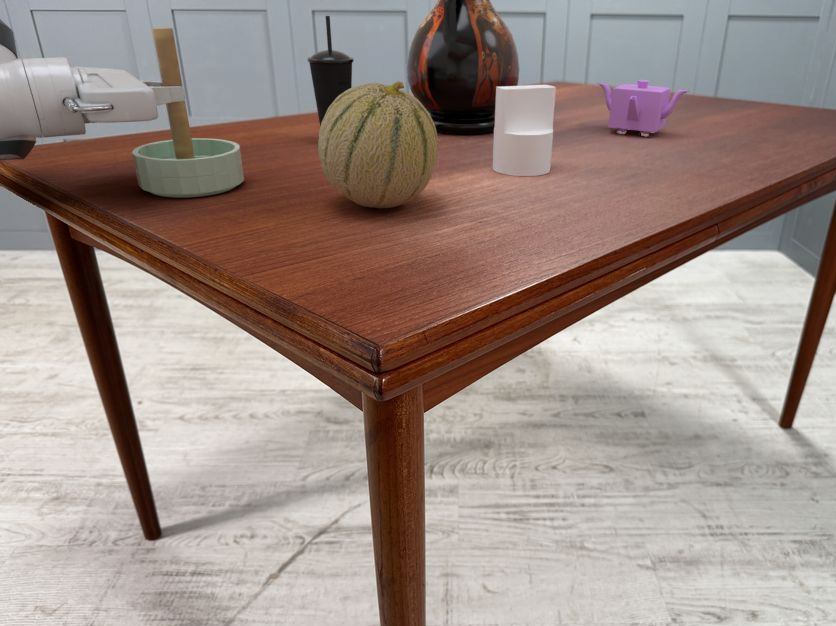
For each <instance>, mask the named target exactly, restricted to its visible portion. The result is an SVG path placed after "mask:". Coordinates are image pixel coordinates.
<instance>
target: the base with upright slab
mask: <svg viewBox="0 0 836 626" xmlns="http://www.w3.org/2000/svg"><path fill="white" fill-rule="evenodd" d="M556 92H557V87H556V86H554V85H549V84H531V85H529V84H528V85H517V86H502V87H496V105H495V128H494V131H493V144H492V145H493V147H492V170H493V171H494V172H496V173H497V174H501V175H506V176H513V177H539V176H543V175H546V174H549V173H551V172H550V171H551V165H552V153H553V141H554V117H555V106H556V105H555V104H556Z"/></svg>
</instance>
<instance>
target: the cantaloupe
mask: <svg viewBox="0 0 836 626" xmlns="http://www.w3.org/2000/svg"><path fill="white" fill-rule="evenodd" d="M403 89H405V85H404V83H403V81H399V80H398V81H396V82H394V83H393V84H391V85H388V84H384V83H380V82H372V83H366V84H360V85H355V86H352V88H350V89H348V90H346V91H345V92H343V93H342V94H340V95H339V96H338V97H337V98H336V99H335V100H334V101H333V103H332V104H331V105H330V106H329V108H328V110H327V112H326V114H325V116H324V118H323V121H322V122H321V127H320V126H319V127H320V128H319V132H318V148H317V151H318V158H319V163H320V166H321V169H322V173H323V174H324V176H325V178H326V179H327V181H328V183H329V184H330V185H331V186H332V187H333V188H335V189H336V190H337V192H339V194H340V195H341V196H343V197H345V198H346V199H347V200H349V201H352V202H353V203H355V204H357V205H359V206H361V207H366V208H370V209H371V208H374V209H375V208H376V209H391V208H396V207H399V206H401V205H405V204H407V203H408V202H411V201H412V200H413V199H416V198H417V197H418V196H419V195H420V194H421V193H422V192H423V191H424V190H425V188H427V186H428V184H429V182H430V181H431V179H432V177H433V174H434V171H435V167H436V164H437V161H438V156H439V155H438V151H439V137H438V132H436V128H435V124H434V122H433V120H432V118H431V116H430V114H429V113H428V111H427V110H426V109H425V108H424V106H423V105H422V104H421V103H420V101H419V100H418V99H417V98H415V97H414V95H413V94H412V93H410V92H407V91H405V90H403Z"/></svg>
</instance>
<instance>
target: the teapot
mask: <svg viewBox="0 0 836 626" xmlns="http://www.w3.org/2000/svg"><path fill="white" fill-rule="evenodd" d="M636 83H637V84H632V83H623V84H621V85H618V86H615V87H613V88H612V89H611V87H610V85H609V84H607V83H604V82H596V84H597V85H599V86H600V87H601V89H603V91H604V95H605V97H604V98H605V104H606V107H607V109H608V111H609V116H608V126H607V127H608V128H613V129H617V131H621V132H625V131H627V130H628V129H630V130H631V131H638V132H639V134H640V133H643V134H648V133H649V132H656V133H657V132H658V131H660V130H661V129H663V128H664V127H666V121H667V118H668V117H669V116H671V115H672V113H673V112H674V110H675V109H676V106H677V104H678V102H679V100H680V98H681V97H682V96H683V95H685V94H686V93H689V92H690V90H688V89H679V90H677V91H676V92H675V93H674V94H673V96H672V98H671V100H670V95H671V90H672V89H671V87H666V86H655V85H649V83H650V80H648V79H637V80H636ZM669 101H670V102H669ZM627 132H628V131H627ZM649 134H650V133H649Z"/></svg>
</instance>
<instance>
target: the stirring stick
mask: <svg viewBox="0 0 836 626" xmlns="http://www.w3.org/2000/svg"><path fill="white" fill-rule="evenodd" d="M151 30H152V36H153V41H154V47H155V53H156V57H157V58H156V59H157V62H158V69H159V73H160V80H161V82H162V85H163V87H166V86H175V85H179V86H181V87H182V88H183V89H184V86H183V81H182V75H181V67H180V62H179V56H178V52H177V51H178V50H177V45H176V39H175V32H174V28H173V27H168V26H165V27H164V26H159V27H157V26H156V27H152V28H151ZM165 107H166V112H167V117H168V123H169V129H170V133H171V134H170V135H171V140H173V145H174V151H175V156H176V159H192V158H194V157H195V156H194V150H193V144H192V138H193V137H192V134H191V133H192V132H191V128H190V121H189V115H188V109H187V103H186V99H185V100H184V101H181V102H171V103H167V104H165Z"/></svg>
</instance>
